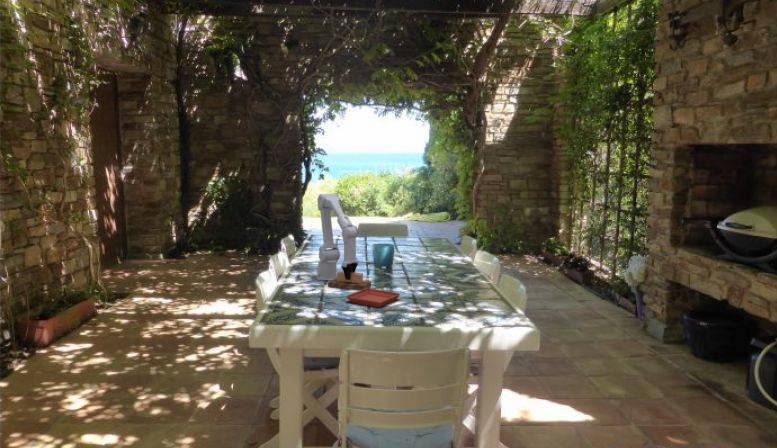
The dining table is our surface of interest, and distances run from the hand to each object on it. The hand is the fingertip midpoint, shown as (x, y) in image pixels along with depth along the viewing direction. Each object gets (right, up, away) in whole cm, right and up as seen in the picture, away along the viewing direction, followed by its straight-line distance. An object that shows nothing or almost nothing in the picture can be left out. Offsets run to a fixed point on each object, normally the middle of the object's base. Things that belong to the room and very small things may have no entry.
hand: (349, 278), depth 269 cm
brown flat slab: (0, -4, +1) cm, 4 cm away
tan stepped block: (0, -4, +1) cm, 4 cm away
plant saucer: (+12, -8, -23) cm, 27 cm away
